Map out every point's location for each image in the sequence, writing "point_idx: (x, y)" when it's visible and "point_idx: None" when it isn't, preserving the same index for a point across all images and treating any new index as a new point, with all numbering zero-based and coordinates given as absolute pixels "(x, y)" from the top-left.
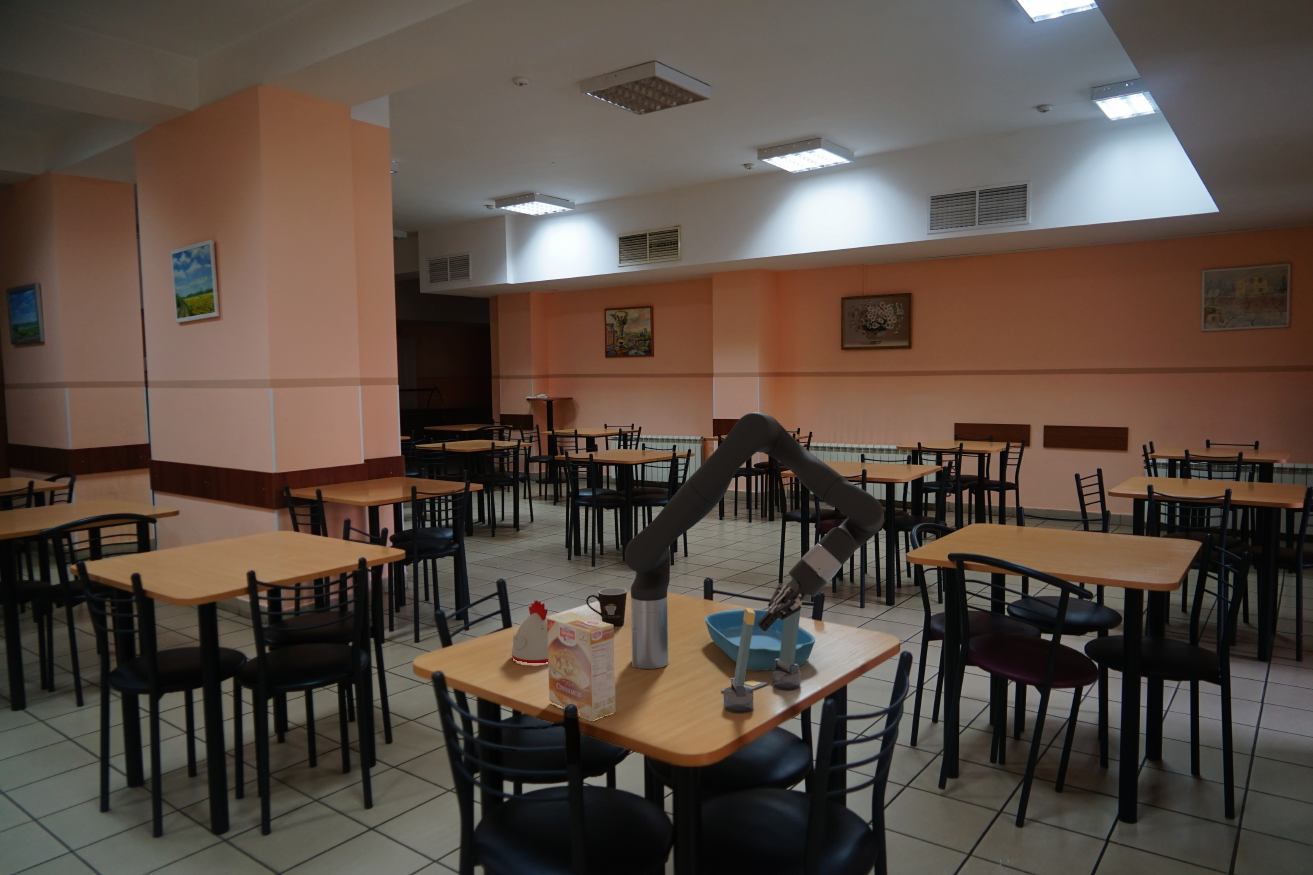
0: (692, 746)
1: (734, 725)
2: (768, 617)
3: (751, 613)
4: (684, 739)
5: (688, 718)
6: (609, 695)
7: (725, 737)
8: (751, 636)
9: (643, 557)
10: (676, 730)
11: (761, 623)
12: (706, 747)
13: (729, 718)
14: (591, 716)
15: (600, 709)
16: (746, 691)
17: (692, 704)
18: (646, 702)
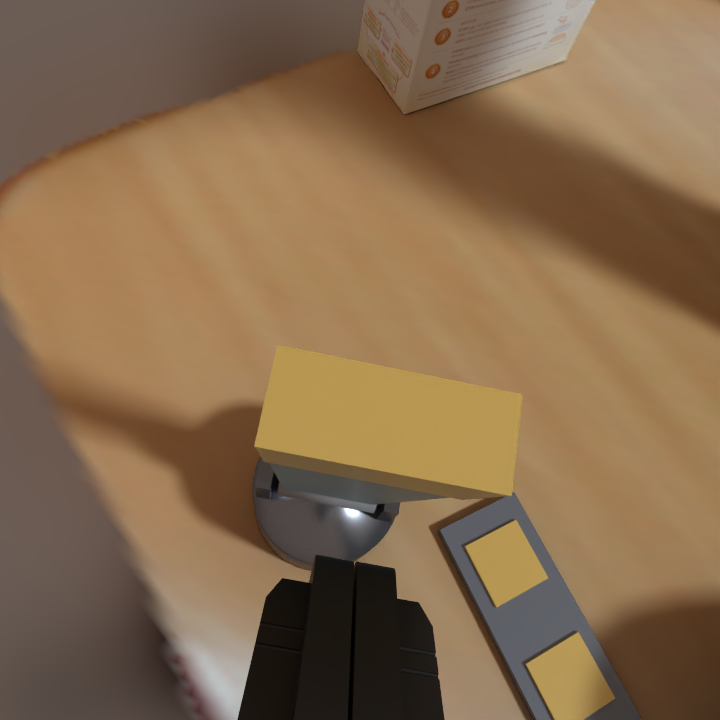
0: (54, 221)
1: (150, 413)
2: (269, 692)
3: (269, 389)
4: (120, 218)
5: (284, 285)
6: (401, 41)
7: (63, 341)
8: (273, 469)
9: None
10: (201, 219)
11: (310, 591)
12: (21, 255)
13: (224, 421)
14: (360, 35)
15: (376, 47)
16: (313, 525)
17: (407, 341)
18: (466, 212)
